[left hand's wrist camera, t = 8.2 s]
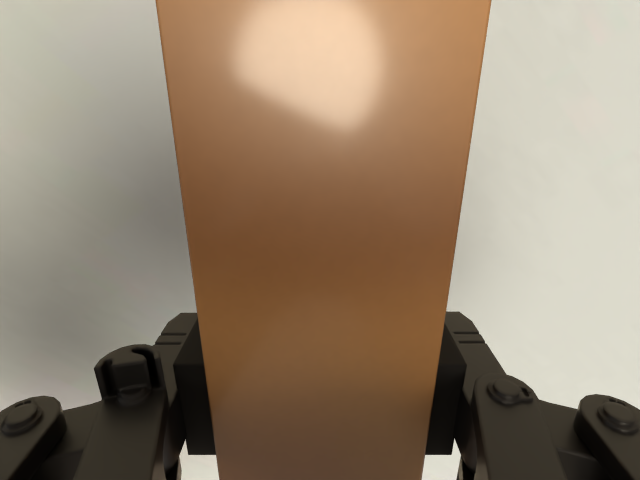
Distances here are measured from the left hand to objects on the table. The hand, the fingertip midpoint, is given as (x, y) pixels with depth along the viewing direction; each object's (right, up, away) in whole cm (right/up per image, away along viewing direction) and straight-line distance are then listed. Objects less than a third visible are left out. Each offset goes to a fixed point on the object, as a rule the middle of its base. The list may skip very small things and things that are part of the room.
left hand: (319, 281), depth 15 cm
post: (0, +29, -11) cm, 31 cm away
